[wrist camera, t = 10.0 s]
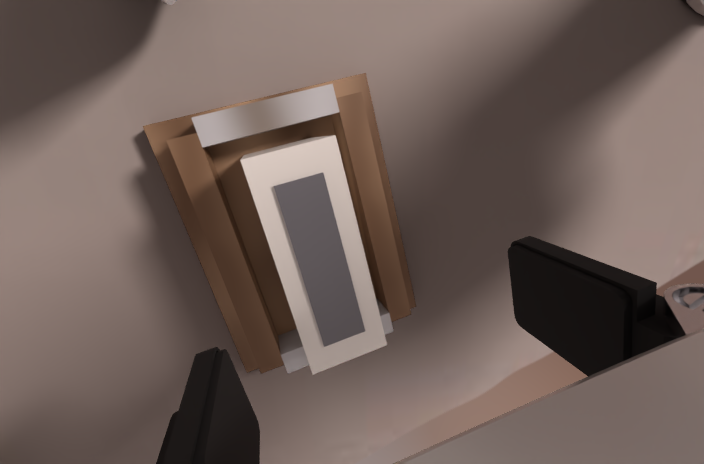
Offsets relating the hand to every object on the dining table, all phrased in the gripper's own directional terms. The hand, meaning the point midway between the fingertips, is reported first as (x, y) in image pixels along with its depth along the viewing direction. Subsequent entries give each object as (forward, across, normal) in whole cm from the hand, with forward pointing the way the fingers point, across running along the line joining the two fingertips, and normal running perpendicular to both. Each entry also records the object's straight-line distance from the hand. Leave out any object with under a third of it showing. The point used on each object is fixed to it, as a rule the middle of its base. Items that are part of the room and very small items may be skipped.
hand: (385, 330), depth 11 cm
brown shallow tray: (+15, +1, 0) cm, 15 cm away
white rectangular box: (+14, +1, 0) cm, 14 cm away
